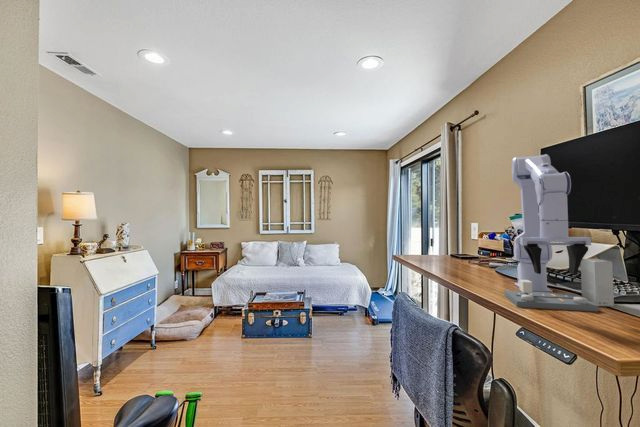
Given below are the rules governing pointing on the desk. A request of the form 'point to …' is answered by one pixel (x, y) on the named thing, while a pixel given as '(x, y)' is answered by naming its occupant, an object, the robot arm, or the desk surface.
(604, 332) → the desk surface
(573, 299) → the console
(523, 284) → the fader tab
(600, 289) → the skincare box
